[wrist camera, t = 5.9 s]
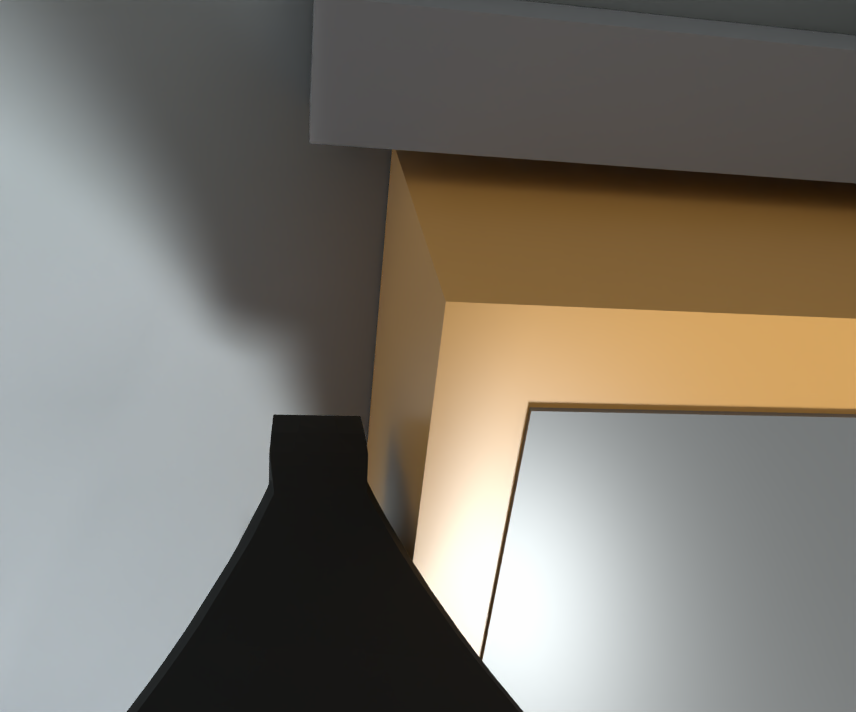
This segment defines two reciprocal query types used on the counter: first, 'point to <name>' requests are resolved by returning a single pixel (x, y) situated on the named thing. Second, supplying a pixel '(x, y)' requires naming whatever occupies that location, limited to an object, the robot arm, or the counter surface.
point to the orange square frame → (625, 428)
